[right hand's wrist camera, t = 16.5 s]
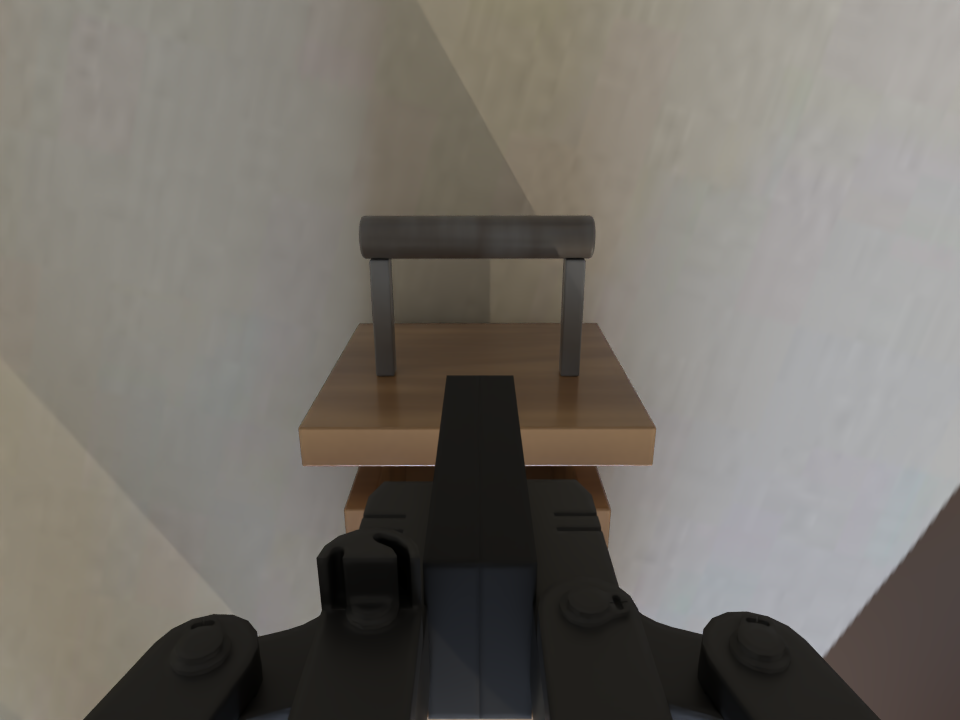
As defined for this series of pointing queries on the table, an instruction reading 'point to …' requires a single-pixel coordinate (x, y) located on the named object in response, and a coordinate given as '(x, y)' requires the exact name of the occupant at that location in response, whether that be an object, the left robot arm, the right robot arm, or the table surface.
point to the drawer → (476, 367)
